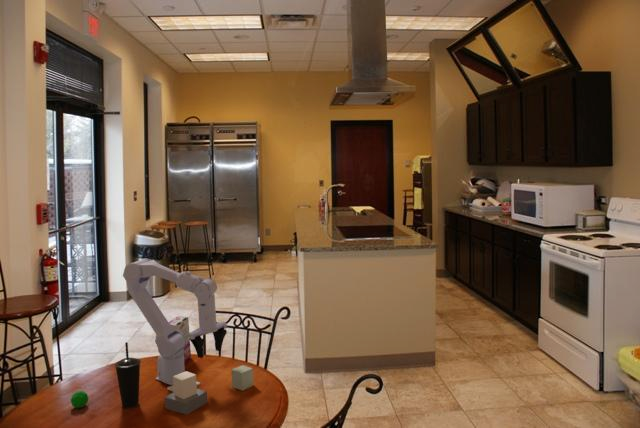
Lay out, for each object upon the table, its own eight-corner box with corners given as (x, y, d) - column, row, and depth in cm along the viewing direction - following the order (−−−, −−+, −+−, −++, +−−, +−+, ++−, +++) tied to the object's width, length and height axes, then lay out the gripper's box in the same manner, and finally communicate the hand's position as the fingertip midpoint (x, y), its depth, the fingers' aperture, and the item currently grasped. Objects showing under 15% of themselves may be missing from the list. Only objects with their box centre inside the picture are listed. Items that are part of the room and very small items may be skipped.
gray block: (165, 409, 159) (164, 397, 158) (186, 397, 167) (185, 385, 166) (186, 415, 154) (186, 403, 154) (207, 403, 162) (206, 391, 162)
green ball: (71, 405, 163) (70, 390, 162) (88, 401, 165) (87, 387, 164) (71, 411, 158) (70, 396, 158) (88, 408, 160) (87, 393, 160)
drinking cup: (118, 412, 157) (114, 348, 155) (116, 402, 164) (111, 341, 162) (145, 406, 160) (141, 344, 158) (141, 397, 167) (137, 337, 165)
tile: (167, 389, 172) (167, 387, 172) (189, 380, 179) (189, 378, 179) (178, 394, 169) (178, 391, 169) (200, 384, 176) (200, 382, 176)
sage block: (232, 387, 173) (231, 369, 172) (243, 382, 177) (242, 365, 176) (242, 390, 170) (241, 373, 169) (253, 385, 174) (252, 368, 173)
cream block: (174, 395, 160) (172, 376, 159) (187, 389, 163) (186, 371, 163) (183, 399, 156) (182, 380, 156) (197, 393, 160) (196, 374, 160)
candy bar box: (179, 356, 202) (177, 315, 201) (191, 357, 201) (189, 316, 200) (165, 367, 192) (163, 324, 190) (178, 368, 191) (175, 325, 189)
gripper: (196, 322, 167) (199, 363, 169) (231, 311, 178) (233, 349, 180) (183, 319, 172) (186, 358, 173) (218, 308, 183) (220, 346, 184)
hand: (209, 353), depth 177 cm, fingers open, 7 cm apart
